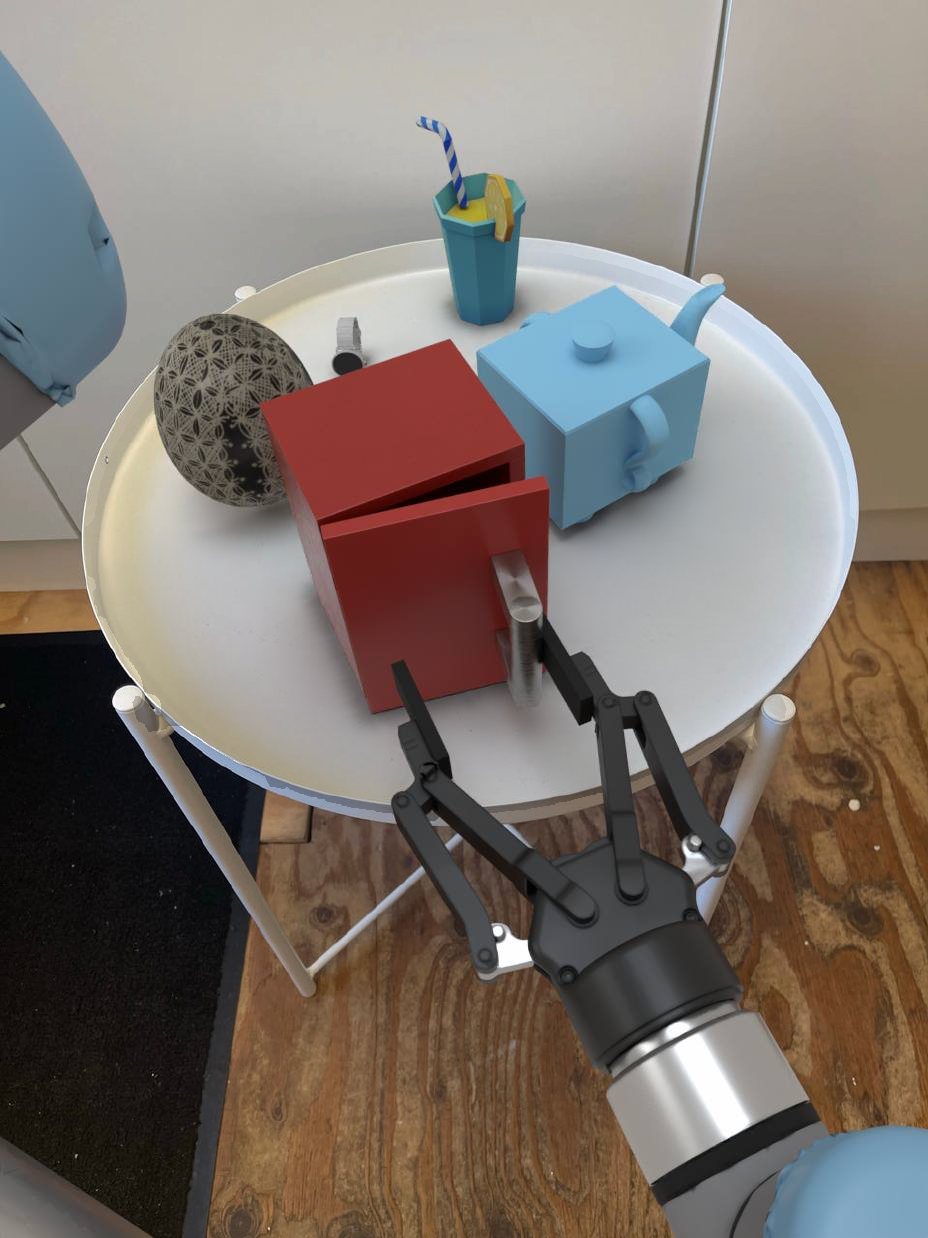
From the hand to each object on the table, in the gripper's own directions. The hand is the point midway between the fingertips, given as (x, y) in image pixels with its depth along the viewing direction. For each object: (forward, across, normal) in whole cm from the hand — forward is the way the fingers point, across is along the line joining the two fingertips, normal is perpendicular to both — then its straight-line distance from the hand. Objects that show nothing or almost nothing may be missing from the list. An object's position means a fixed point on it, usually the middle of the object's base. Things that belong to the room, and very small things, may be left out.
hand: (467, 648), depth 55 cm
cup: (+41, +18, -10) cm, 45 cm away
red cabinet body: (+10, 0, -9) cm, 14 cm away
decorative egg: (+27, -6, -10) cm, 30 cm away
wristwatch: (+37, +5, -10) cm, 38 cm away
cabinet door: (+1, 0, -9) cm, 9 cm away
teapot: (+18, +20, -10) cm, 29 cm away
